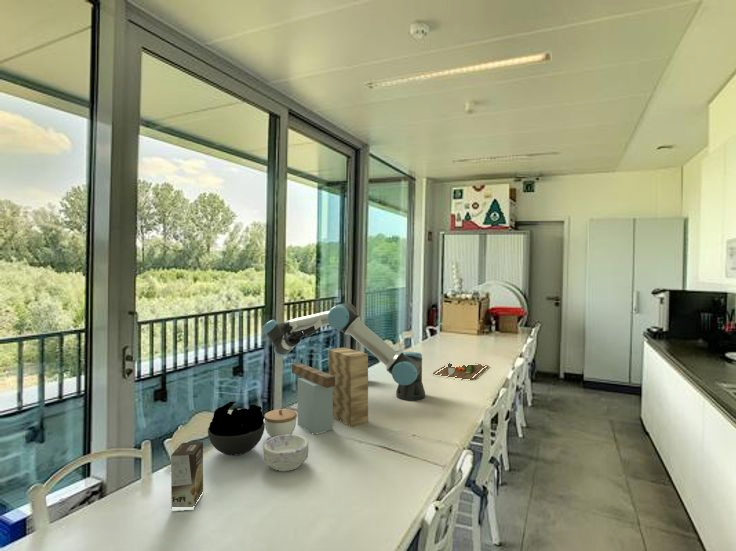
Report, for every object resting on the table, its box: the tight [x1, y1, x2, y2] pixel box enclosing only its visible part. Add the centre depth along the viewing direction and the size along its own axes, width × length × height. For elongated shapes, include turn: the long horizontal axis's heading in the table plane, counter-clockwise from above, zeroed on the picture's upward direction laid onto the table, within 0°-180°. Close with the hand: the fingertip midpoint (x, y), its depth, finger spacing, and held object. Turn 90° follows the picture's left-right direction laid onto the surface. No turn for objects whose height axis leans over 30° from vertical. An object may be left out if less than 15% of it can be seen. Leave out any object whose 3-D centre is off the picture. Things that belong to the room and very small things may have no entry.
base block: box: [296, 377, 334, 435], centre depth 184 cm, size 14×9×20 cm, turn 37°
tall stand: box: [328, 347, 369, 427], centre depth 194 cm, size 18×9×30 cm, turn 37°
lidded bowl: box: [263, 408, 297, 438], centre depth 174 cm, size 13×13×11 cm
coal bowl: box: [207, 401, 266, 457], centre depth 159 cm, size 20×20×19 cm
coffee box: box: [170, 441, 204, 508], centre depth 126 cm, size 9×6×16 cm
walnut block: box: [291, 362, 335, 388], centre depth 186 cm, size 30×4×4 cm, turn 37°
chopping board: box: [432, 362, 490, 381], centre depth 281 cm, size 45×27×3 cm, turn 151°
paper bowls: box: [262, 434, 309, 472], centre depth 150 cm, size 15×15×8 cm
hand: (308, 323), depth 209 cm, fingers open, 13 cm apart
